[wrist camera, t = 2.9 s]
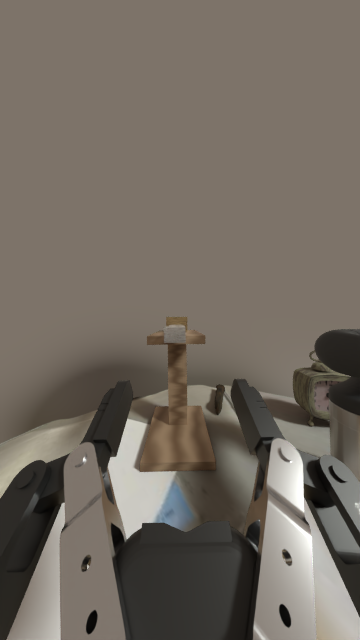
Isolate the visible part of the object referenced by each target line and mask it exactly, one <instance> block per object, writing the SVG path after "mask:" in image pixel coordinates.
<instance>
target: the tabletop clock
mask: <svg viewBox="0 0 360 640" xmlns="http://www.w3.org/2000/svg"><path fill="white" fill-rule="evenodd" d="M314 352H315V350H314V351H312V352H311V353H310V355H309V356H310V358H311V359H312V360H313V361H316V363H313V365H312V366H311V368H300V369H296V370H295V371H294V375H293V392H294V397H295V400H296V402H297V403H298V404H299V405H300V406H301V407H302V408H304V409H305V410H306V411H307V412H308V413H309V414H310V420H308V424H309V425H310V426H314V423H313V421H312V420H313V416H314V417H316V418H319V419H325V420H330V416H329V388H330V386H332V385H334V384H337V383H340V382H343V381H345V380H347V379H349V378H350V377H349V376H346V375H343V374H340V373H338V372H335V371H332V370H331V369H330V368H328V367H327V366H325V365H324V364H323V363H322V362H321V361H320V359H319V360H316V359H313V358H312V357H311V355H312V354H313V353H314Z"/></svg>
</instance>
